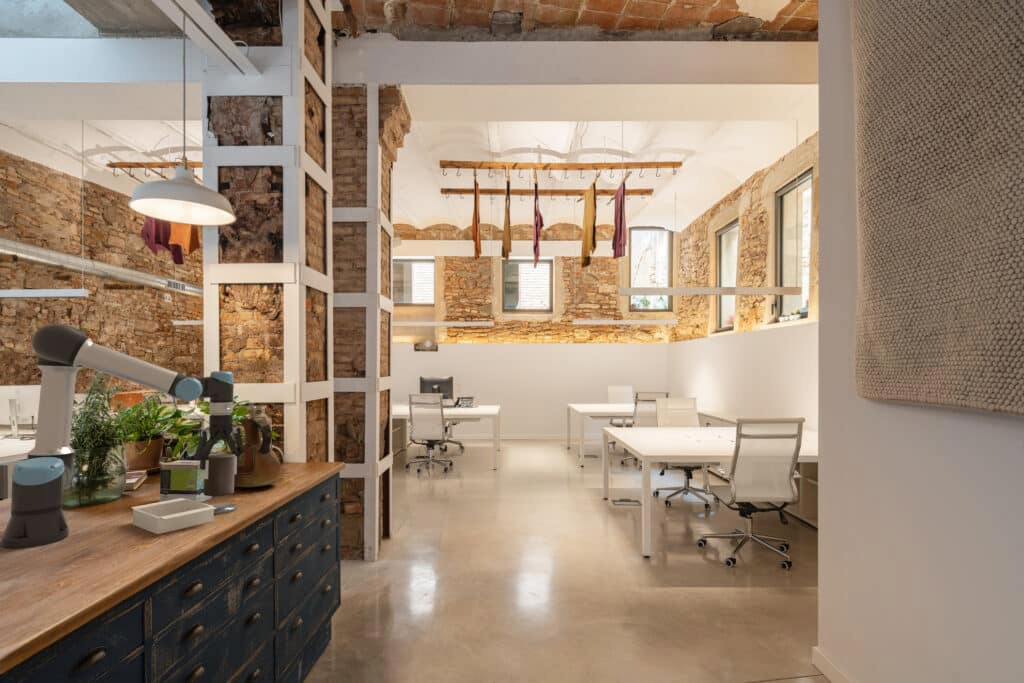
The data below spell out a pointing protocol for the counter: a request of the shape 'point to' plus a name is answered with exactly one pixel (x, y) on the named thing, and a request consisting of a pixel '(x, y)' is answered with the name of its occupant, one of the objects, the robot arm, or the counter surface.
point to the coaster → (224, 508)
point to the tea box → (182, 481)
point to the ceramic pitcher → (257, 456)
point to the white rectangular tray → (172, 515)
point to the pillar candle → (220, 475)
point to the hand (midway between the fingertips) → (219, 476)
